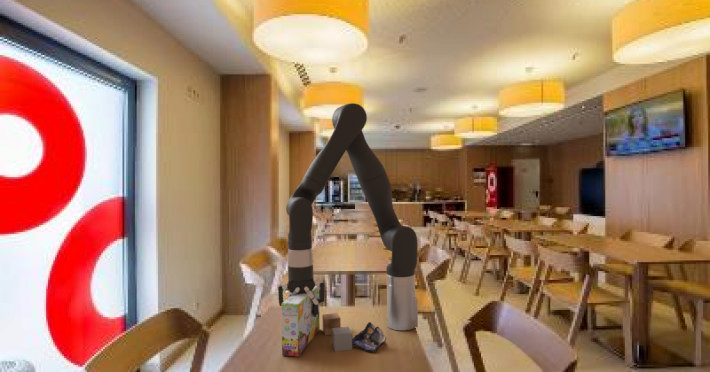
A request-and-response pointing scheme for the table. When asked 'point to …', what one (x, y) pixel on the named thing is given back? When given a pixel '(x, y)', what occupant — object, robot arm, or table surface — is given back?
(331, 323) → the walnut block
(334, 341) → the slate block
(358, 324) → the table surface
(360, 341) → the snack package
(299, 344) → the snack box
